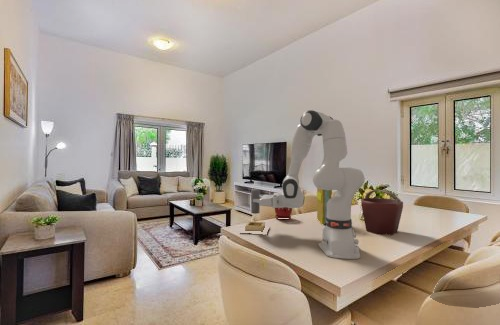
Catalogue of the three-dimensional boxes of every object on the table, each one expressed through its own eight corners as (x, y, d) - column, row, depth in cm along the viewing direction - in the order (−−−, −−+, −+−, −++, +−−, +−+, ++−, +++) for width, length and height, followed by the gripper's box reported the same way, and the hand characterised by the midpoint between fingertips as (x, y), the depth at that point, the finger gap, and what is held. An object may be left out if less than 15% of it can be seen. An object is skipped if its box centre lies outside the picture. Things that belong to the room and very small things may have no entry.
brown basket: (411, 237, 138) (411, 192, 138) (371, 237, 138) (371, 192, 138) (386, 226, 162) (386, 187, 162) (353, 226, 162) (353, 187, 162)
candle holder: (266, 235, 142) (266, 228, 142) (239, 233, 145) (239, 226, 145) (269, 227, 158) (269, 221, 158) (245, 226, 161) (245, 220, 161)
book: (332, 224, 165) (332, 187, 165) (321, 224, 165) (321, 187, 165) (324, 219, 182) (325, 184, 182) (315, 219, 182) (315, 184, 182)
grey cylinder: (258, 213, 148) (258, 190, 148) (250, 213, 149) (250, 190, 149) (260, 212, 153) (260, 189, 153) (252, 211, 154) (252, 189, 154)
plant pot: (272, 220, 178) (272, 203, 178) (276, 216, 191) (276, 200, 191) (291, 221, 175) (291, 204, 175) (293, 217, 187) (293, 201, 187)
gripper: (278, 192, 159) (256, 192, 162) (275, 197, 139) (250, 196, 142) (278, 202, 159) (256, 201, 162) (275, 208, 139) (250, 207, 142)
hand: (254, 199), depth 151 cm, fingers closed on grey cylinder, 5 cm apart
